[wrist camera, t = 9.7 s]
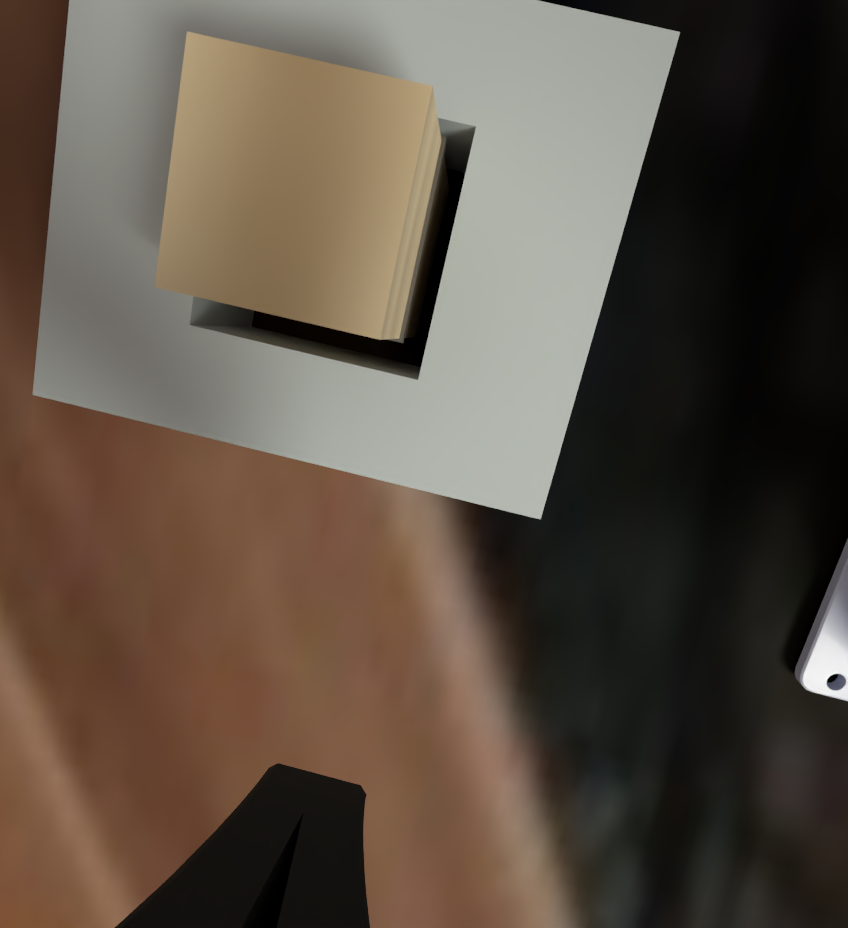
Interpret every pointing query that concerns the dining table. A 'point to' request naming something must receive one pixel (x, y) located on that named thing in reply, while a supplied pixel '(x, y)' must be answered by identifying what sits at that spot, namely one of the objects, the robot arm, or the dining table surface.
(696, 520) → the dining table surface
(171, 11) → the socket block
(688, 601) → the dining table surface
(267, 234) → the peg
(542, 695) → the dining table surface
